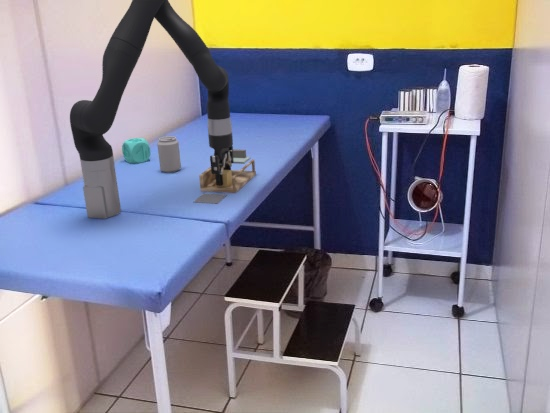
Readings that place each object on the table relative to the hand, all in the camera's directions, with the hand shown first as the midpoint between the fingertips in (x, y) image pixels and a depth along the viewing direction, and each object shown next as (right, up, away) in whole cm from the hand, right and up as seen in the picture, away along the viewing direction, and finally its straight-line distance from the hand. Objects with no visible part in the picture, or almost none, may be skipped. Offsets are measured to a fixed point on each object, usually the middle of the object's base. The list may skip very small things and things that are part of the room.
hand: (224, 181), depth 196 cm
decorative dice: (-36, +9, +37) cm, 53 cm away
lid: (+3, +7, +8) cm, 12 cm away
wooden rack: (+1, -1, +4) cm, 4 cm away
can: (-21, +5, +23) cm, 31 cm away
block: (0, -2, 0) cm, 2 cm away
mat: (-3, -6, -10) cm, 12 cm away
